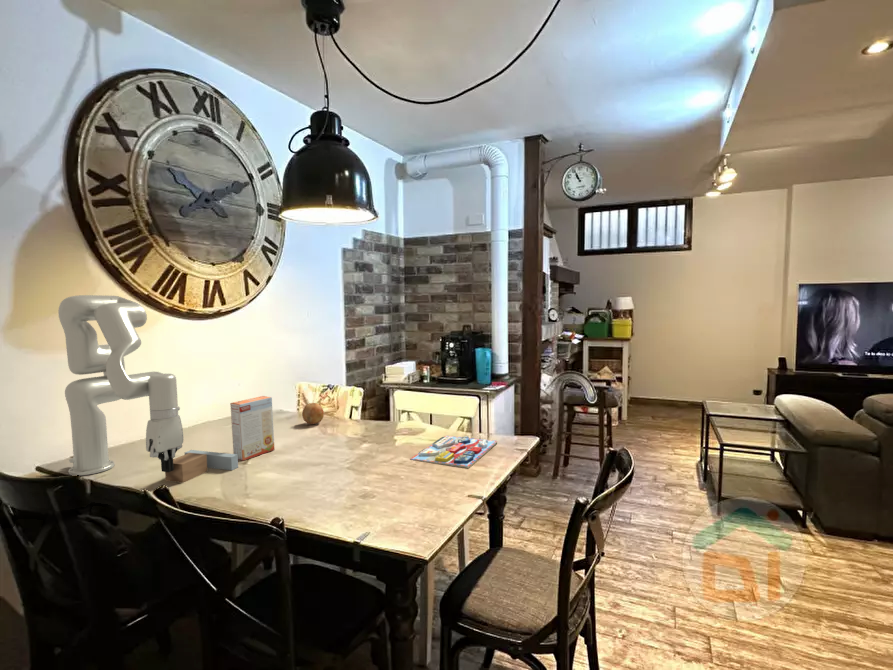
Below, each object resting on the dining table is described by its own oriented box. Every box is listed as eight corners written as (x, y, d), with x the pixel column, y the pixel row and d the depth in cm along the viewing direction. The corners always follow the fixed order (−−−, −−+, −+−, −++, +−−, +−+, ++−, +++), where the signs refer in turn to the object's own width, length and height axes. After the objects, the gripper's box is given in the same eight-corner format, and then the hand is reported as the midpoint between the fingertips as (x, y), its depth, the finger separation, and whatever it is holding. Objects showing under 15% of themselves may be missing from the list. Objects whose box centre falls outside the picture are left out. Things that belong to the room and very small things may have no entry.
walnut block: (165, 480, 150) (164, 462, 150) (190, 469, 160) (189, 452, 159) (183, 482, 148) (182, 464, 148) (207, 471, 158) (206, 454, 157)
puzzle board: (445, 438, 195) (445, 432, 195) (497, 444, 185) (497, 438, 185) (409, 461, 167) (409, 454, 167) (468, 470, 157) (468, 462, 157)
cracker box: (265, 448, 183) (262, 395, 181) (275, 450, 180) (273, 396, 178) (232, 458, 171) (229, 402, 169) (242, 461, 168) (239, 403, 166)
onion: (326, 421, 223) (325, 400, 222) (321, 426, 213) (321, 404, 213) (305, 421, 223) (304, 400, 222) (300, 427, 213) (299, 405, 212)
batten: (185, 464, 165) (184, 452, 164) (192, 462, 167) (191, 449, 167) (231, 470, 159) (231, 457, 158) (238, 467, 162) (237, 454, 161)
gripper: (175, 407, 154) (178, 462, 155) (132, 418, 140) (136, 478, 141) (193, 408, 152) (196, 464, 153) (151, 420, 138) (155, 481, 139)
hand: (167, 470), depth 147 cm, fingers closed
